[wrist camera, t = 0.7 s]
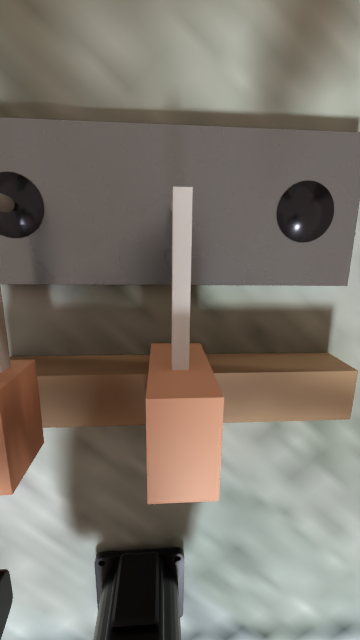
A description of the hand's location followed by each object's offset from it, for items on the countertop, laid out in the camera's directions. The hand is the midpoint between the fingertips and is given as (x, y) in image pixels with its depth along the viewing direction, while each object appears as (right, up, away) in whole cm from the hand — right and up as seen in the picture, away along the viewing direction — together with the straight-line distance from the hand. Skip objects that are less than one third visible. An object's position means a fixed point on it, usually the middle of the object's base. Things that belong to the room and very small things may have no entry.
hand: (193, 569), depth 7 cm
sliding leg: (-1, +6, +10) cm, 12 cm away
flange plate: (-1, +12, +9) cm, 15 cm away
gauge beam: (-1, +7, +11) cm, 12 cm away
